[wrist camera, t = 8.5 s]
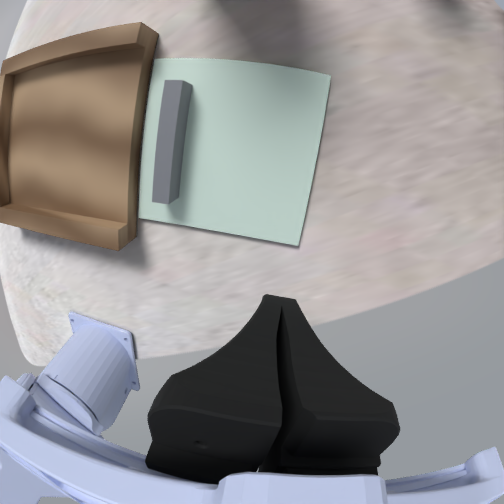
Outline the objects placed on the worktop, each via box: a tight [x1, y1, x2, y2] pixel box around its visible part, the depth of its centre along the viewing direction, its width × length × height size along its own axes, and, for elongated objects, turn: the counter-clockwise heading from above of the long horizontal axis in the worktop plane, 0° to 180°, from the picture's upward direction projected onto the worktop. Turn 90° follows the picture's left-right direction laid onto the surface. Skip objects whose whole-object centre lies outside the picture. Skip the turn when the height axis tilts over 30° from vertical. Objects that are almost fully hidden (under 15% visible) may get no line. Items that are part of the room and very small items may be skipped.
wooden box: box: [0, 22, 158, 251], centre depth 17 cm, size 16×16×3 cm
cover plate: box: [139, 58, 331, 246], centre depth 17 cm, size 12×12×3 cm
